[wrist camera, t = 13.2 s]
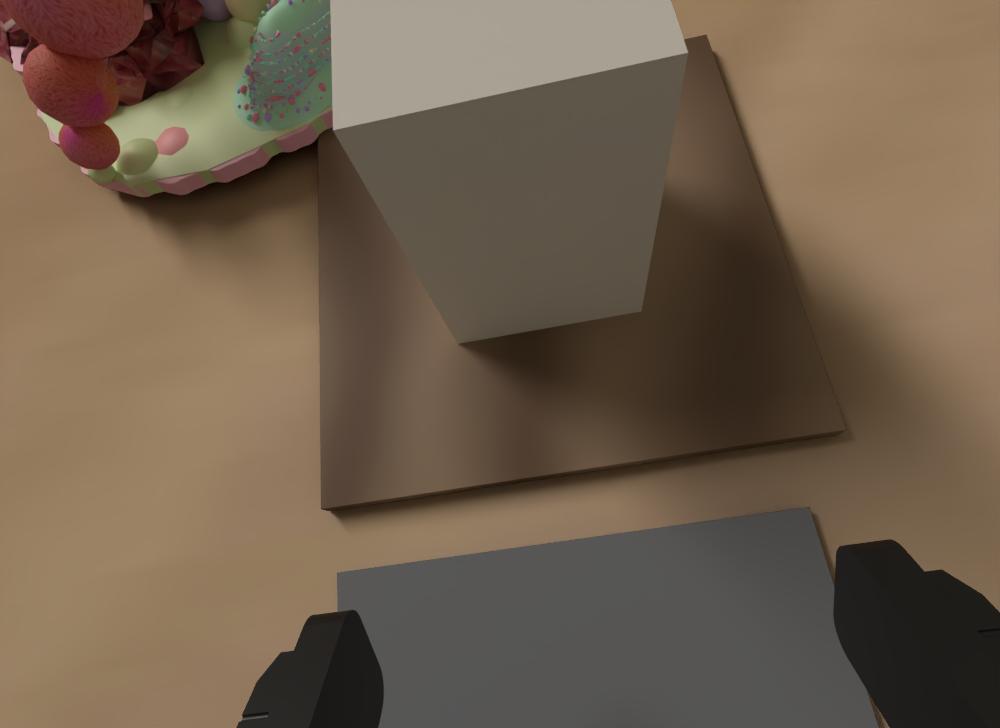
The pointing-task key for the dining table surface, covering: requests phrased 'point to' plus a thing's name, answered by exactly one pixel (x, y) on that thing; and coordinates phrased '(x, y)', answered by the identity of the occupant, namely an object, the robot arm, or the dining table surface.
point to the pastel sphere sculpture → (173, 84)
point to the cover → (513, 148)
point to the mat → (616, 632)
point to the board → (568, 342)
